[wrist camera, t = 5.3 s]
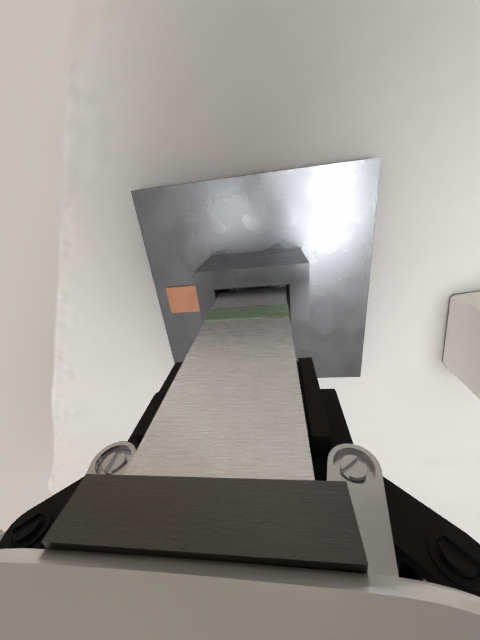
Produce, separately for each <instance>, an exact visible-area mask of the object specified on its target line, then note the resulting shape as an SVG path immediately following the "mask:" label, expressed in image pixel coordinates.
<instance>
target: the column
mask: <svg viewBox="0 0 480 640" xmlns="http://www.w3.org/2000/svg"><path fill="white" fill-rule="evenodd" d="M41 542H42V543H43V545H44V546H45V547H46V549H53V550H73V551H88V552H102V553H117V554H131V555H145V556H158V557H172V558H185V559H198V560H211V561H224V562H237V563H250V564H262V565H274V566H286V567H299V568H311V569H323V570H335V571H344V572H354V573H364V574H367V571H368V561H367V557H366V553H365V550H364V546H363V542H362V538H361V535H360V531H359V527H358V523H357V520H356V516H355V512H354V508H353V505H352V501H351V497H350V493H349V490H348V486H347V482H346V481H318V480H315V478H314V471H313V465H312V459H311V452H310V446H309V440H308V433H307V427H306V420H305V414H304V408H303V401H302V395H301V389H300V382H299V376H298V369H297V363H296V357H295V350H294V344H293V338H292V331H291V325H290V311H289V305H288V304H287V299H286V293H285V287H282V288H268V289H255V290H241V291H227V292H220V293H219V295H218V297H217V299H216V301H215V303H214V305H213V307H212V308H211V309H210V310H209V311H208V313H207V315H206V317H205V319H204V324H203V326H202V327H201V329H200V331H199V333H198V335H197V337H196V339H195V341H194V343H193V344H192V346H191V348H190V350H189V352H188V354H187V356H186V358H185V360H184V362H183V363H182V365H181V367H180V369H179V371H178V373H177V375H176V377H175V379H174V380H173V382H172V384H171V386H170V388H169V390H168V392H167V394H166V396H165V398H164V399H163V401H162V403H161V405H160V407H159V409H158V411H157V413H156V415H155V416H154V418H153V420H152V422H151V424H150V426H149V428H148V430H147V432H146V434H145V435H144V437H143V439H142V441H141V443H140V445H139V447H138V449H137V451H136V452H135V454H134V456H133V458H132V460H131V462H130V464H129V466H128V468H127V470H126V471H125V473H124V475H108V474H86V475H85V477H84V478H83V480H82V481H81V483H80V484H79V486H78V487H77V489H76V490H75V492H74V493H73V495H72V496H71V498H70V499H69V501H68V502H67V504H66V505H65V507H64V508H63V510H62V511H61V513H60V514H59V516H58V517H57V519H56V520H55V522H54V523H53V525H52V526H51V528H50V529H49V531H48V532H47V534H46V535H45V537H44V538H43V540H42V541H41Z"/></svg>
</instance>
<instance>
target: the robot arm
mask: <svg viewBox="0 0 480 640" xmlns="http://www.w3.org/2000/svg"><path fill="white" fill-rule="evenodd" d="M182 363H183V362H176V363H175V365H174V366H173V368H172V370H171V372H170V373H169V375H168V377H167V379H166V380H165V382H164V384H163V386H162V387H161V389H160V391H159V392H157V393H156V394H155V395H154V397H153V399H152V400H151V402H150V404H149V405H148V407H147V409H146V411H145V412H144V414H143V416H142V417H141V419H140V421H139V423H138V424H137V426H136V428H135V430H134V431H133V433H132V435H131V436H130V438H129V440H128V442H127V441H120V442H116V443H113V444H111V445H109V446H107V447H106V448H104V449H103V450H101V451H100V452H99V453H98V454H97V455H96V456H95V458H94V459H93V461H92V462H91V464H90V467H89V469H88V471H87V473H86V474H108V475H124V473H125V471H126V470H127V468H128V466H129V464H130V462H131V460H132V458H133V456H134V454H135V452H136V451H137V449H138V447H139V445H140V443H141V441H142V439H143V437H144V435H145V434H146V432H147V430H148V428H149V426H150V424H151V422H152V420H153V418H154V416H155V415H156V413H157V411H158V409H159V407H160V405H161V403H162V401H163V399H164V398H165V396H166V394H167V392H168V390H169V388H170V386H171V384H172V382H173V380H174V379H175V377H176V375H177V373H178V371H179V369H180V367H181V365H182ZM296 363H297V369H298V376H299V382H300V389H301V395H302V401H303V408H304V414H305V420H306V427H307V433H308V440H309V446H310V452H311V459H312V465H313V471H314V478H315V480H318V481H346V482H347V486H348V490H349V493H350V497H351V501H352V505H353V508H354V512H355V516H356V520H357V523H358V527H359V531H360V535H361V538H362V542H363V546H364V550H365V553H366V557H367V561H368V571H367V574H364V573H354V572H344V571H335V570H323V569H311V568H299V567H286V566H274V565H262V564H250V563H237V562H224V561H211V560H198V559H185V558H172V557H158V556H145V555H131V554H117V553H102V552H88V551H73V550H53V549H46V547H45V546H44V545H43V543H42V542H41V541H42V540H43V538H44V537H45V535H46V534H47V532H48V531H49V529H50V528H51V526H52V525H53V523H54V522H55V520H56V519H57V517H58V516H59V514H60V513H61V511H62V510H63V508H64V507H65V505H66V504H67V502H68V501H69V499H70V498H71V496H72V495H73V493H74V492H75V490H76V489H77V487H78V486H79V484H80V483H81V481H82V480H83V478H84V477H85V476H84V477H83V478H81V479H80V480H78V481H76V482H75V483H73V484H71V485H70V486H68V487H66V488H65V489H63V490H61V491H60V492H58V493H56V494H55V495H53V496H52V497H50V498H48V499H46V500H45V501H43V502H42V503H40V504H38V505H37V506H35V507H33V508H32V509H30V510H28V511H27V512H26V513H24V514H23V515H21V516H20V517H19V518H18V519H17V520H16V521H15V522H14V523H13V524H12V525H11V526H10V527H9V529H8V530H7V531H6V532H4V531H3V530H0V640H480V544H479V543H478V542H476V541H475V540H474V539H473V538H471V537H470V536H469V535H468V534H466V533H465V532H464V531H462V530H461V529H459V528H458V527H456V526H455V525H453V524H452V523H450V522H449V521H447V520H446V519H444V518H443V517H442V516H440V515H439V514H437V513H436V512H434V511H433V510H431V509H430V508H428V507H427V506H425V505H424V504H423V503H421V502H420V501H418V500H417V499H415V498H414V497H412V496H411V495H409V494H408V493H406V492H405V491H403V490H402V489H401V488H399V487H398V486H396V485H395V484H393V483H392V482H390V481H389V480H387V479H386V478H384V477H383V475H382V470H381V467H380V464H379V462H378V460H377V459H376V458H375V456H374V455H373V454H372V453H370V452H369V451H368V450H366V449H364V448H363V447H361V446H358V445H354V444H353V442H352V439H351V436H350V433H349V430H348V427H347V424H346V421H345V418H344V415H343V412H342V409H341V406H340V403H339V399H338V396H337V393H336V391H335V389H320V387H319V384H318V380H317V376H316V372H315V368H314V364H313V360H312V357H307V358H298V361H296Z"/></svg>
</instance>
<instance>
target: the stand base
mask: <svg viewBox="0 0 480 640" xmlns="http://www.w3.org/2000/svg"><path fill="white" fill-rule="evenodd" d="M380 163H381V157H378V158H371V159H364V160H356V161H349V162H341V163H334V164H327V165H319V166H312V167H305V168H297V169H290V170H282V171H275V172H268V173H260V174H253V175H245V176H238V177H231V178H223V179H216V180H209V181H201V182H194V183H186V184H179V185H172V186H164V187H157V188H149V189H142V190H135V191H131V193H132V197H133V201H134V205H135V209H136V213H137V217H138V221H139V225H140V229H141V232H142V236H143V240H144V244H145V248H146V252H147V256H148V260H149V264H150V268H151V272H152V276H153V280H154V284H155V288H156V291H157V295H158V299H159V303H160V307H161V311H162V315H163V319H164V323H165V327H166V331H167V335H168V339H169V343H170V347H171V350H172V354H173V358H174V362H175V363H176V362H184V360H185V358H186V356H187V354H188V352H189V350H190V348H191V346H192V344H193V343H194V341H195V339H196V337H197V335H198V333H199V331H200V329H201V327H202V326H203V324H204V319H205V317H206V315H207V313H208V311H209V310H210V309H211V308H212V307H213V305H214V303H215V301H216V299H217V297H218V295H219V293H220V292H227V291H241V290H255V289H268V288H282V287H285V293H286V299H287V304H288V305H289V311H290V325H291V331H292V338H293V344H294V350H295V357H296V361H298V358H307V357H312V360H313V364H314V368H315V372H316V376H317V378H324V377H360V373H361V363H362V352H363V342H364V331H365V321H366V310H367V300H368V289H369V278H370V268H371V257H372V247H373V236H374V226H375V215H376V205H377V194H378V184H379V173H380Z"/></svg>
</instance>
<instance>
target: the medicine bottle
mask: <svg viewBox="0 0 480 640" xmlns="http://www.w3.org/2000/svg"><path fill="white" fill-rule="evenodd" d="M443 364H444V365H445V366H446V367H447V368H448V369H449V370H450V371H451V372H452V373H453V374H454V375H455V376H456V377H458V378H459V379H460V380H461V381H462V382H463V383H464V384H465V385H466V386H467V387H468V388H469V389H470V390H471V391H472V392H473V393H474V394H475V395H476V396H477V397H478V398H479V399H480V291H479V292H472V293H465V294H458V295H453V296H452V297H451V299H450V306H449V315H448V323H447V331H446V340H445V348H444V356H443Z"/></svg>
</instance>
